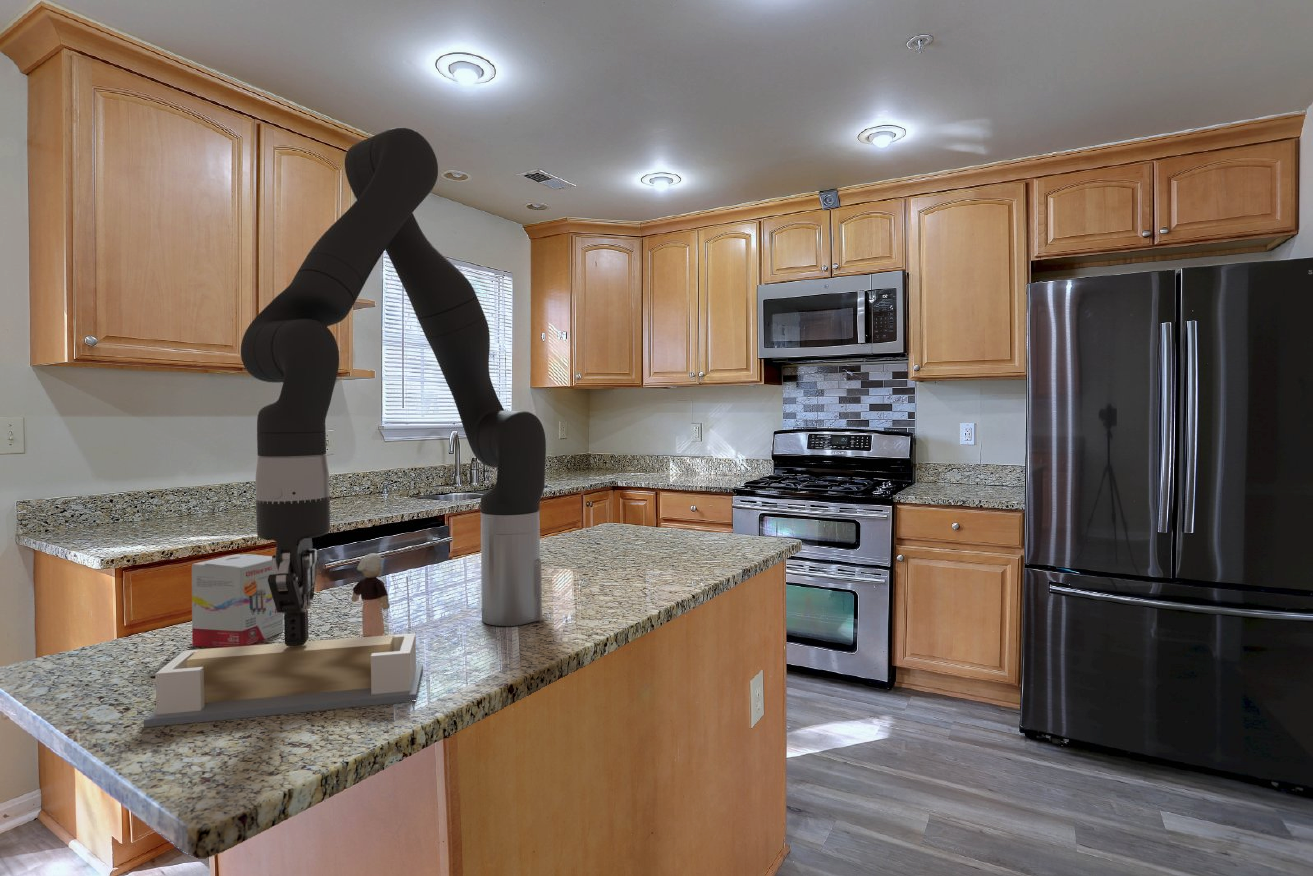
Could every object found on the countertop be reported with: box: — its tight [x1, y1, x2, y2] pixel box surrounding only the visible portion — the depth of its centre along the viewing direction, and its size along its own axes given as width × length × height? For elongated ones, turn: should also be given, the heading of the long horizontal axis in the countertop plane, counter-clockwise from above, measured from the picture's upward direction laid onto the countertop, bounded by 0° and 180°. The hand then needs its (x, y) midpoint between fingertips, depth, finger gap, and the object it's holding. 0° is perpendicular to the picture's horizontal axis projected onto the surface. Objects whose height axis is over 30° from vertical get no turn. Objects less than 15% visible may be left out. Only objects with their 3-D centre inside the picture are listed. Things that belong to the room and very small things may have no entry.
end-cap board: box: [143, 632, 424, 728], centre depth 81 cm, size 27×10×5 cm, turn 104°
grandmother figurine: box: [350, 552, 391, 637], centre depth 102 cm, size 8×4×13 cm, turn 71°
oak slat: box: [187, 634, 395, 703], centre depth 81 cm, size 21×4×5 cm, turn 104°
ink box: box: [191, 553, 284, 648], centre depth 103 cm, size 9×9×12 cm
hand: (296, 643), depth 81 cm, fingers closed
